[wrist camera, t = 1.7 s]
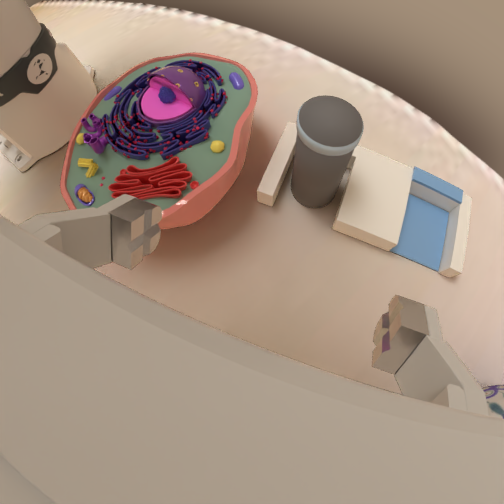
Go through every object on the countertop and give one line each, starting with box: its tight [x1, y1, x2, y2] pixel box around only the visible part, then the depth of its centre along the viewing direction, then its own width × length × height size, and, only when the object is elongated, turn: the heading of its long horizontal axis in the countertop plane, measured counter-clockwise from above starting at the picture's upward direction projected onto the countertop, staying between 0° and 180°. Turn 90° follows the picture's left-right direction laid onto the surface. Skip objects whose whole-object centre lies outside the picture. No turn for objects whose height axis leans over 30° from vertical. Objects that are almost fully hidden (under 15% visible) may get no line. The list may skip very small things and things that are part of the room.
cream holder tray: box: [257, 121, 472, 278], centre depth 28 cm, size 21×8×3 cm, turn 68°
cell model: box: [60, 53, 258, 229], centre depth 26 cm, size 17×20×11 cm
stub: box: [291, 96, 363, 208], centre depth 25 cm, size 5×5×11 cm
